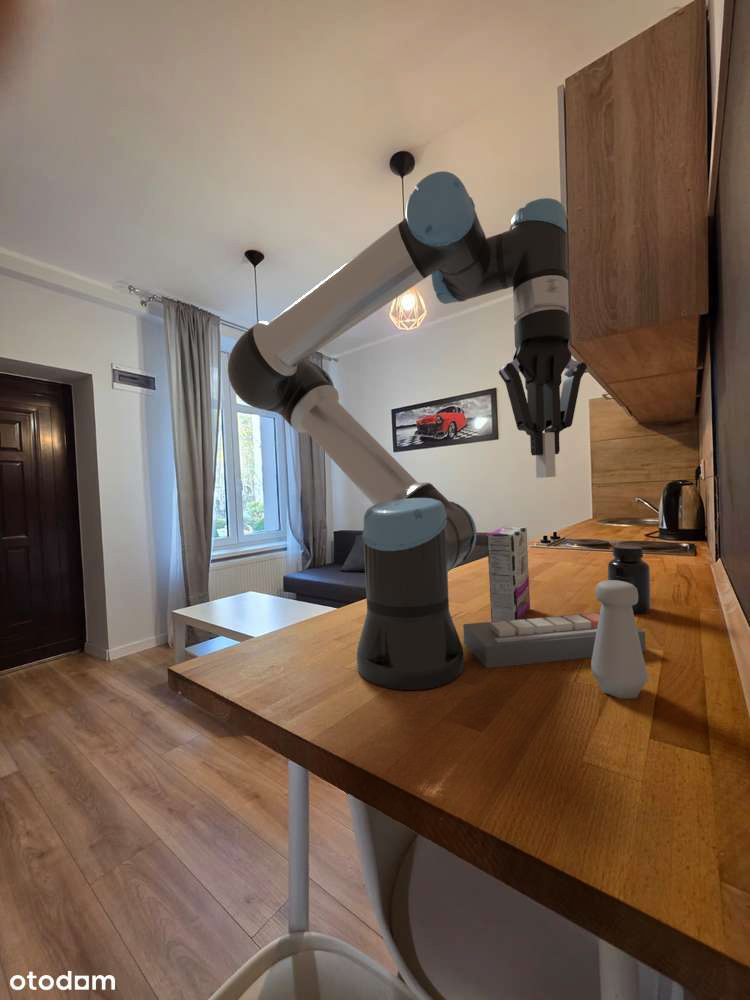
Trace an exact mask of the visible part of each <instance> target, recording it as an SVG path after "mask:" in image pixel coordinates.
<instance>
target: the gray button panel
mask: <svg viewBox="0 0 750 1000" xmlns="http://www.w3.org/2000/svg"><path fill="white" fill-rule="evenodd" d="M599 615H600V611H598V612H588V613H587V612H586V613H577V614H567V615H565V614H564V615H556V616H555V615H554V616H543V617H532V618H531V617H530V618H522V619H518V620H506V621H495V622H492V621H487V622H475V623H473V622H472V623H463V625H462V626H463V627H462V628H463V643H464V645H466V647H467V648H468V649H469V650H470V651H471V653H472V654H473V655H474V656H475V657H476V658H477V659H478V660H479V662H481V664H482V665H483V666H484V667H485V668H486V669H490V668H491V669H493V668H502V667H513V666H520V665H522V666H523V665H531V664H533V665H534V664H541V663H552V662H560V661H570V660H571V661H572V660H580V659H581V660H582V659H590V658H591V659H592V655H593V649H594V644H595V638H596V632H597V626H598V621H599ZM637 631H638V636H639V640H640V645H641V649H642V653H646V631H645V630H642V629H640V628H638V627H637Z"/></svg>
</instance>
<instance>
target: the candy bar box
mask: <svg viewBox="0 0 750 1000" xmlns="http://www.w3.org/2000/svg"><path fill="white" fill-rule="evenodd" d="M486 536H487V537H486V538H487V539H486V541H487V557H488V558H487V559H488V573H489V575H488V577H489V579H488V580H489V594H490V595H489V596H490V597H489V598H490V599H489V600H490V617H491V618H490V620H491V621H490V622H495V621H506V620H518V619H524V617H525V615H526V614H527V613H528V611H529V610H530V609H531V601H530V600H531V599H530V579H529V555H528V535H527V527H525V526H503V527H500V528H499V529H498V528H497V529H496V530H494V531H491V532H490V533H487V534H486Z"/></svg>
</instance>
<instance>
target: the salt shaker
mask: <svg viewBox="0 0 750 1000" xmlns="http://www.w3.org/2000/svg"><path fill="white" fill-rule="evenodd" d="M595 596H596V599H597V601H598V602H600V603H601V604H600V605H601V606H600V609H599V610H600V611H599V612H600V615H599V621H598V626H597V632H596V638H595V644H594V649H593V655H592V658H591V662H590V665H591V667H590V668H591V672H592V675H593V676H594V678H595V679H596V681H597V683H598V685H599V687H600V689H601V690H602V692H603V693H604V694H607V695H610V696H612V697H615V698H618V699H621V700H624V699H637V698H638V697H639V695H640V693H641V691H642V690H643V688H644V687H645V685H646V683H647V682H648V678H649V675H648V671H647V667H646V663H645V662H646V661H645V659H644V654H643V652H642V649H641V645H640V640H639V636H638V631H637V628H638V626H637V622H636V617H635V615H634V613H633V609H632V605H635V604H637V602H638V591H637V588H636V587H635V586H634V585H633V584H630V583H627V582H623V581H616V580H608V579H607V580H602V581H600V582H598V583H597V584H596V587H595Z"/></svg>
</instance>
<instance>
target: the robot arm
mask: <svg viewBox="0 0 750 1000" xmlns="http://www.w3.org/2000/svg"><path fill="white" fill-rule="evenodd" d="M405 206H406V207H405V208H406V209H405V218H403V219H402V220H401V221H400V222H399V223H396V225H394V226H393V227H392V228H390V229H389V230H388V231H387V232H385V233H383V235H381V236H380V237H378V238H377V239H376V240H374V241H373V242H372V243H371V244H369V245H368V246H367V247H366V248H364V249H363V250H362V251H361V252H359V253H358V254H357V255H355V256H354V257H353V258H352V259H350V260H349V261H347V262H345V264H343V266H340V267H339V269H337V270H335V271H334V272H333V273H332V274H330V275H329V276H328V277H327V278H326V279H324V280H323V281H321V282H319V284H318V285H316V286H315V287H314V288H312V289H311V290H310V291H308V292H307V293H305V295H303V296H302V297H300V298H299V299H298V300H296V301H295V302H294V303H292V305H290V306H288V307H287V308H286V309H284V310H283V311H282V312H281V313H279V314H278V315H277V316H276V317H275V318H273V319H271V320H270V321H269V322H268V321H264V320H262V321H258V322H257V323H255V324H254V325H253V326H251V327H250V328H249V329H248V330H246V331H245V332H244V333H243V334H242V335H241V336H240V337H239V339H238V340H237V341H236V343H235V344H234V346H233V347H232V349H231V352H230V355H229V357H228V358H229V359H228V363H227V375H228V380H229V383H230V385H231V387H232V389H233V391H234V392H235V394H236V395H237V397H239V398H240V399H241V401H243V402H244V403H246V404H247V405H248V406H251V407H252V408H255V409H260V410H263V411H264V410H265V411H268V412H272V413H277V414H279V415H280V416H281V417H282V418H283V419H284V420H285V421H286V423H288V424H289V426H290V427H292V428H293V430H294V431H296V432H297V433H299V434H301V433H302V434H308V435H309V436H310V437H311V438H312V439H313V441H314V442H315V443H316V444H317V445H318V446H319V447H320V448H321V449H322V451H324V452H325V453H326V454H327V456H328V457H329V458H330V459H331V460H332V461H333V462H334V463H335V464H336V465H337V466H338V468H340V470H341V471H342V472H343V473H344V474H345V475H346V476H347V478H349V479H350V481H351V482H353V484H354V485H355V486H356V487H357V488H358V490H359V491H360V492H362V493H363V495H364V496H365V497H366V498H367V499H368V500H369V502H371V504H373V505H372V506H370V507H368V508H367V509H366V510H365V513H364V515H363V529H362V533H361V534H362V535H361V536H362V541H363V552H364V553H363V554H364V557H363V558H364V573H365V594H366V615H365V620H364V623H363V626H362V629H361V635H360V637H359V641H358V645H357V650H356V664H357V665H356V667H357V668H356V669H357V671H358V673H359V674H360V676H362V677H363V678H364V679H365V680H367V681H368V682H369V683H370V682H371V683H372V684H375V685H377V686H380V687H383V688H388V689H392V690H402V691H415V690H416V691H417V690H418V691H420V690H428V689H433V688H437V687H441V686H444V685H446V684H449V683H451V682H452V681H455V679H457V678H458V677H460V675H462V672H463V670H464V668H465V664H464V663H465V660H464V650H463V649H464V648H463V646H462V643H461V640H460V637H459V635H458V631H457V628H456V626H455V623H454V621H453V617H452V615H451V611H450V603H449V576H448V575H449V574H448V572H449V571H451V570H453V569H454V568H458V567H459V566H461V565H462V564H463V563H464V562H465V561H466V560H467V559H468V557H470V555H471V553H472V552H473V550H474V548H475V545H476V542H477V526H476V523H475V520H474V518H473V517H472V515H471V514H470V512H469V511H468V510H467V509H466V508H465V507H463V506H461V505H460V504H458V503H456V502H455V501H449V499H447V497H445V496H444V495H443V494H442V493H441V491H439V490H438V489H437V488H436V487H435V486H434V485H433V484H432V483H431V482H419V481H417V480H416V479H415V477H413V476H412V475H411V473H409V472H408V471H407V470H406V469H405V468H404V467H403V466H402V465H401V464H400V463H399V462H398V461H397V460H396V458H394V457H393V456H392V455H391V454H390V452H388V451H387V450H386V448H384V447H383V446H382V444H380V443H379V442H378V441H377V440H376V439H375V438H374V436H372V435H371V434H370V433H369V432H368V431H367V429H366V428H364V426H362V424H360V423H359V422H358V421H357V420H356V419H355V417H354V416H353V415H352V414H351V413H349V411H348V410H347V409H346V408H344V406H343V405H341V403H339V399H340V396H339V392H338V389H336V387H335V385H334V382H333V379H332V378H331V376H330V374H329V373H328V372H327V371H326V370H325V369H324V368H322V367H321V366H319V365H318V364H316V363H313V362H312V361H309V360H307V359H308V358H309V357H310V356H312V355H313V354H315V353H316V352H318V351H320V349H322V348H323V347H326V346H327V345H329V344H330V343H331V342H332V341H334V340H335V339H337V338H339V337H340V336H342V335H343V334H345V333H346V332H348V331H349V330H351V329H352V328H353V327H355V326H357V325H359V324H360V323H361V322H362V321H364V320H366V319H368V317H370V316H371V315H373V314H375V313H376V312H378V310H380V309H382V308H383V307H385V306H386V305H387V304H389V303H390V302H392V301H394V300H396V298H398V297H400V296H401V295H402V294H403V293H406V292H407V291H408V290H410V289H411V288H413V287H414V286H416V285H417V284H419V283H420V282H422V281H423V280H425V279H426V278H428V277H430V276H431V283H432V287H433V291H434V292H435V297H436V298H437V300H438V301H439V302H440V303H441V304H445V305H446V304H447V305H448V304H451V303H457V302H459V303H461V302H466V301H468V300H470V299H473V298H478V297H482V296H485V295H487V294H492V293H494V292H499V291H501V290H502V291H503V290H507V289H510V288H512V290H513V291H512V292H513V296H512V297H513V320H514V322H515V324H514V326H513V328H514V331H513V332H514V347H515V352H514V354H513V356H512V357H513V358H512V361H511V362H508V363H506V364H505V365H503V366H502V367H500V368H499V370H498V374H499V376H500V378H501V379H502V381H503V382H504V383H505V386H506V390H507V393H508V398H509V401H510V405H511V410H512V413H513V414H512V415H513V417H514V421H515V424H516V428H517V430H518V431H521V432H523V431H524V432H525V433H526V435H527V436H529V439H530V441H529V443H530V455H531V456H535V473H536V478H537V479H539V478H555V477H556V476H557V475H556V474H557V473H556V469H557V468H556V455H559V454H560V452H561V451H560V450H561V449H560V433H561V432H562V431H563V430H565V429H568V428H571V427H572V425H573V421H574V417H575V412H576V411H575V410H576V406H577V401H578V396H579V395H578V394H579V390H580V386H581V385H580V384H581V382H582V381H581V380H582V377H583V376H584V374H585V372H586V371H587V368H588V365H587V363H586V362H584V361H583V362H580V363H579V362H577V361H576V360H574V359H573V358H572V355H573V354H572V352H571V350H570V347H569V342H570V338H571V337H570V335H571V334H570V333H571V332H570V331H571V330H570V328H571V326H570V314H569V313H568V311H569V309H570V306H569V305H570V303H569V266H568V265H569V259H568V257H569V254H568V248H569V247H568V246H569V245H568V244H569V243H568V230H567V229H568V228H567V227H568V226H567V218H566V217H567V215H566V210H565V207H564V205H563V203H561V202H560V201H559V200H557V199H555V198H548V197H546V198H543V197H542V198H538V199H535V200H531V201H529V202H527V203H526V204H525V206H524V207H521V208H519V209H518V210H516V211H515V213H514V215H513V216H512V218H511V220H510V227H509V229H508V230H507V231H503V232H501V233H498V234H495V235H492V236H489V237H487V236H486V234H485V232H484V230H483V227H482V225H481V223H480V219H479V217H478V215H477V212H476V206H475V203H474V201H473V198H472V197H471V195H469V193H468V190H467V188H466V187H465V185H464V183H463V181H462V180H461V179H460V178H459V177H458V176H457V175H456V174H454V173H453V172H449V171H445V170H443V171H435V172H433V173H430V174H428V175H426V176H425V177H423V178H422V179H421V180H419V182H418V183H417V184H416V185H415V188H414V190H413V191H412V193H411V194H410V195H409V197H408V199H407V202H406V205H405ZM564 371H565V372H564ZM563 372H564V376H565V378H564V380H563V384H562V375H563ZM520 373H521V375H522V376H523V378H524V383H525V387H524V385H523V381H522V377H521V375H520ZM561 384H562V389H560V387H561ZM525 389H526V392H525ZM560 390H561V391H560ZM526 395H527V397H526Z"/></svg>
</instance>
